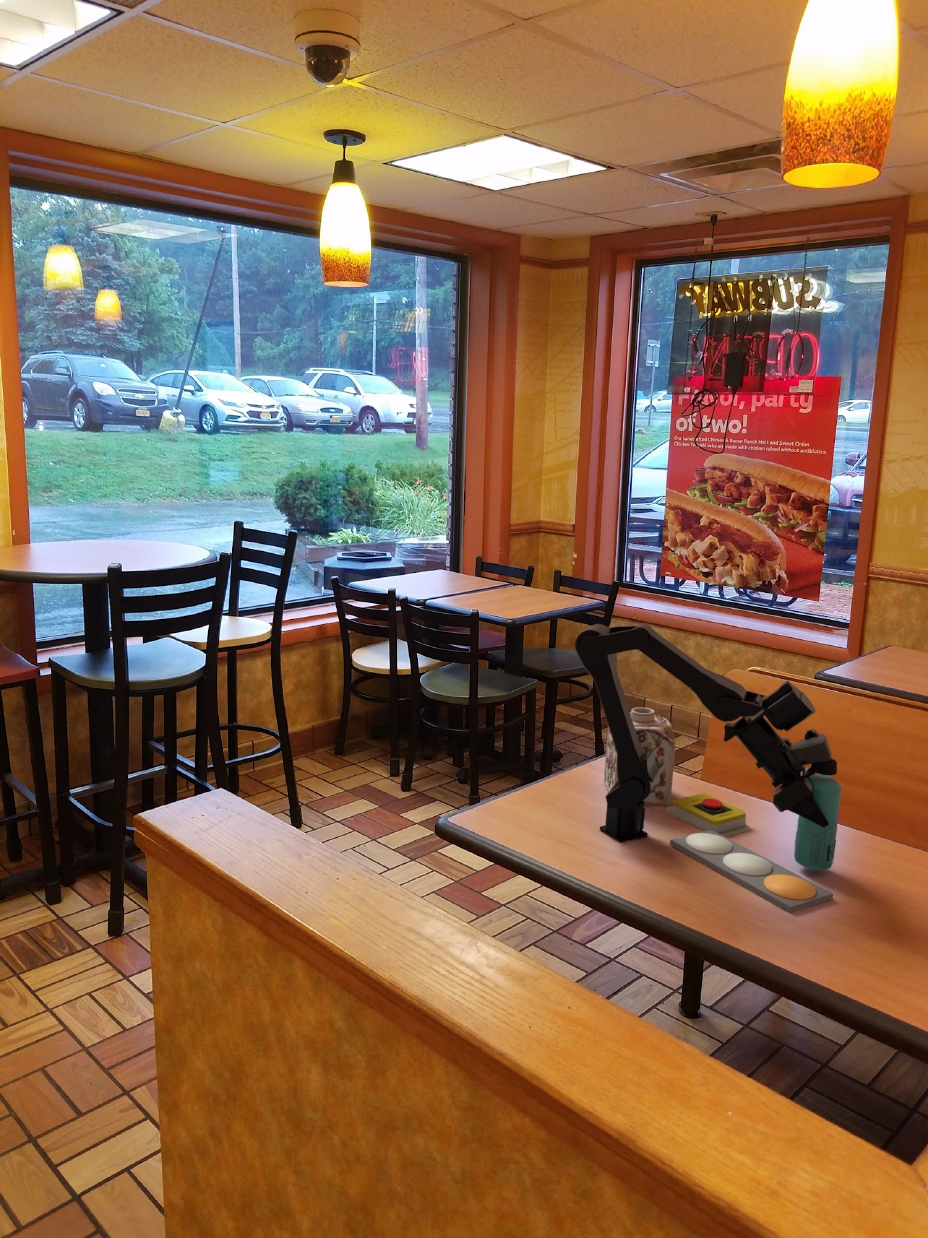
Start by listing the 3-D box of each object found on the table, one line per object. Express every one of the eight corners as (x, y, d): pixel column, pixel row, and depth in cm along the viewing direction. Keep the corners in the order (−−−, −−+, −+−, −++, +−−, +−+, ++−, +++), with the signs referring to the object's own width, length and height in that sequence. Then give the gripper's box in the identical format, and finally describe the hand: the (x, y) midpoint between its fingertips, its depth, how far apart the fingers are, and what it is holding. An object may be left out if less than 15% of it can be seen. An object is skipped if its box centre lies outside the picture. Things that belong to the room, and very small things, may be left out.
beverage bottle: (828, 882, 156) (842, 769, 152) (787, 871, 160) (800, 760, 156) (835, 868, 162) (850, 758, 158) (796, 857, 165) (809, 749, 161)
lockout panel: (789, 913, 146) (790, 905, 145) (669, 844, 168) (670, 838, 168) (832, 899, 151) (833, 891, 150) (710, 834, 173) (711, 828, 173)
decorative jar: (671, 806, 186) (678, 719, 183) (612, 805, 186) (619, 717, 182) (657, 784, 198) (664, 702, 194) (602, 782, 198) (608, 700, 194)
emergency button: (721, 819, 171) (663, 791, 184) (718, 841, 172) (661, 812, 184) (755, 809, 176) (697, 783, 188) (753, 831, 177) (695, 803, 189)
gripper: (803, 734, 148) (869, 813, 147) (807, 705, 165) (866, 775, 164) (746, 773, 153) (810, 850, 151) (756, 740, 170) (813, 809, 168)
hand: (827, 818), depth 158 cm, fingers closed on beverage bottle, 6 cm apart
